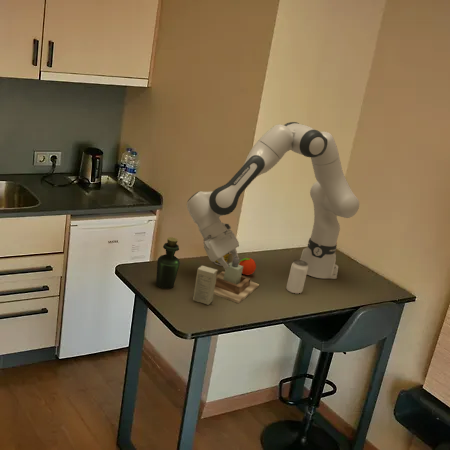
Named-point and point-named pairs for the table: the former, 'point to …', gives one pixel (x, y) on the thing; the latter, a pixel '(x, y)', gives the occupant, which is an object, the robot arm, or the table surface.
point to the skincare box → (205, 285)
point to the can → (297, 276)
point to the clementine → (248, 266)
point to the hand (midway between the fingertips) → (232, 264)
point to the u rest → (234, 288)
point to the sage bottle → (233, 272)
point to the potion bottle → (168, 265)
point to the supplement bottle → (224, 259)
